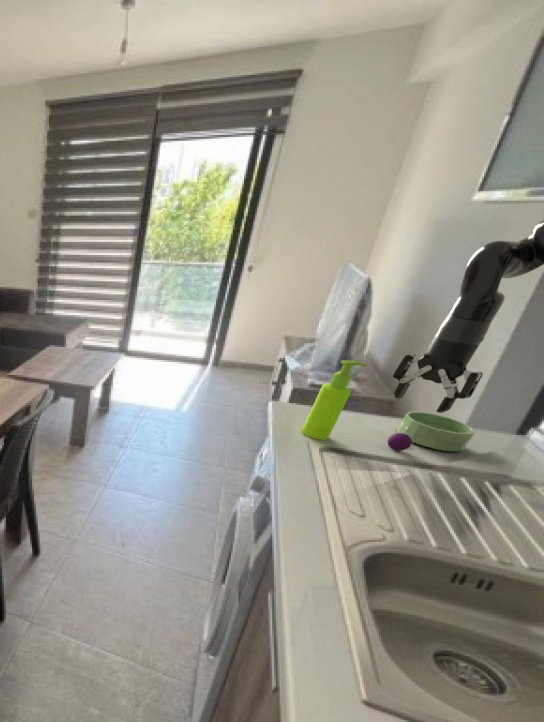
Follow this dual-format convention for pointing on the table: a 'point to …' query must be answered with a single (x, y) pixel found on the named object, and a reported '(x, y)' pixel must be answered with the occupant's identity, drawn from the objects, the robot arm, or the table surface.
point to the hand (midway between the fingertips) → (418, 404)
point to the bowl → (436, 431)
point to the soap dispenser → (329, 403)
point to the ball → (399, 441)
